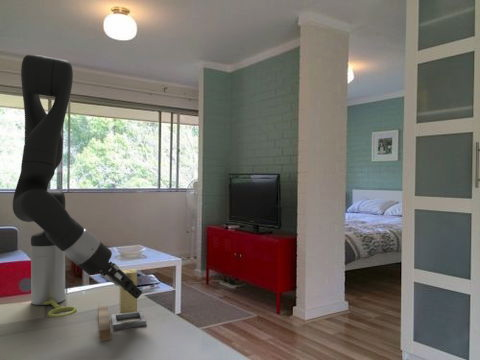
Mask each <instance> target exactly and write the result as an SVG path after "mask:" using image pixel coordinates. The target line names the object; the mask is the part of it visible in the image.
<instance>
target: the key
mask: <svg viewBox="0 0 480 360" xmlns="http://www.w3.org/2000/svg"><path fill="white" fill-rule="evenodd" d="M44 304H45V305H44V306H46V304H49V305H51V306H53V309H51V310H49V311H48V313H47V316H48V317H49V318H62V317H66V316H70V315H73V314H75V313H77V311H78V310H77V307H75V306H71V305H70V306H68V305H67V306H62V305H60V304H58V303H56V302H55V301H54V300H53V299H51V300H50V301H47V302H44ZM67 310H68V312H67ZM61 312H62V313H61ZM63 312H65V313H63ZM58 313H59V314H58Z"/></svg>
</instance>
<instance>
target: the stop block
mask: <svg viewBox="0 0 480 360" xmlns="http://www.w3.org/2000/svg"><path fill="white" fill-rule="evenodd" d="M120 270H121V271H123V272H124V273H125V274H126V275H127V277H128V278H129V279H130V280H131V281H133V282H134V285H135V286H136V287H137V288H138V271H137V269H136V268H131V269H120ZM127 282H128V281H126V282H125V283H124V286H125V285H126V283H127ZM119 311H120V313H121V314H123V313H131V312H137V311H138V298H137V299H136V298H134V297H133V296H132V295H131V294H130V293H129V292H127V291H125V290H124V289H123V288H122V287H121V286H119ZM120 313H119V314H120Z"/></svg>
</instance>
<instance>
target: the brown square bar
mask: <svg viewBox="0 0 480 360" xmlns="http://www.w3.org/2000/svg"><path fill="white" fill-rule="evenodd" d="M108 307H109V306H108V305H99V306H98V305H97V317H98V318H97V319H98V320H97V321H98V334H99V335H98V337H99V338H98V339H99V342H102V341H110V340H111V339H112V336H111V331H112V329H111V322H110V321H111V320H110V316H109V315H110V314H109V308H108Z"/></svg>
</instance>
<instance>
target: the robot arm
mask: <svg viewBox="0 0 480 360" xmlns="http://www.w3.org/2000/svg"><path fill="white" fill-rule="evenodd" d="M73 70H74V69H73V67H72V64H71V62H70V61H68V60H66V59H61V58H55V57H52V56H51V57H48V56H44V55H41V54H40V55H38V54H32V53H31V54H27V55H25V56H24V57H23V59H22V62H21V69H20V74H21V75H20V78H21V90H22V98H23V99H22V100H23V107H24V108H23V109H24V145H23V151H22V158H21V159H22V160H21V167H20V175H19V178H18V181H17V184H16V186H15V190H14V194H13V198H12V199H13V200H12V211H13V214H14V216H15V217H16V218H17V219H18V220H20V221H22V222H25V223H33V222H34V223H35V224H37V226H39V227H40V229H42V231H39V232H36V233H34V234H32V236H31V237H30V268H31V269H30V272H31V273H30V284H31V285H30V286H31V288H30V292H31V294H30V295H31V296H30V297H31V298H30V299H31V300H30V301H31V304H32V305H34V306H46V305H48V306H49V305H50V304H46V305H45V304H44V302H47V301H50V300H51V299H53V300H54V301H55V302H56V303H57V304H58V303H61V302H64V300H66V257H67V258H68V259H69V260H71V261H72V263H74V264H75V265H76V266H77V267H79V268H80V269H81V270H82V271H83V272H85V273H86V274H87V275H89V276H94V275H96V274H98V273H99V275H100V276H101V277H102V278H104V279H106V280H108V281H109V282H110V283H112V284H114V285H115V286H117V287H120V286H121V287H122V288H123V289H124V290H125V291H127V292H129V293H130V294H131V295H132V296H133V297H134V298H136V299H137V300H138V299H139V297H140V296H141V295H142V294H143V291H142V290H141V289H140V288H138V286H137V287H136V286H135V285H134V282H133V281H131V280H130V279H129V278H128V277H127V275H126V274H125V273H124V272H123V271H121V270H122V269H121V268H120V267H119V265H117V264H116V263H114V262H112V261H110V260H111V258H112V255H113V252H112V250H111V249H110V248H109V247H108V246H107V245H106V244H104V243H103V242H102V241H101V240H99V239H98V238H97V236H95V235H94V234H93V233H91V231H88V230H87V229H85V227H83V226H82V225H81V224H80V223H79V222H77V221H76V219H74V218H72V217H71V215H70V214H69V213H68V211H67V210H66V195H65V193H64V192H63V191H62V190H48V188H49V184H50V182H51V180H52V179H53V177H54V175H55V171H56V170H57V168H58V167H59V166H60V164H61V162H62V160H63V149H64V147H63V146H64V144H63V143H64V141H63V136H62V129H63V126H64V122H65V118H66V116H67V115H66V114H67V112H68V111H67V110H68V105H69V101H70V98H71V93H72V87H73V78H74V77H73V76H74V73H73V72H74V71H73ZM40 96H46V97H51V98H52V97H53V98H54V100H53V104H52V106H51V108H50V109H49V111H48V112H46V111H45V108H44V107H43V103H42V101H41V98H40ZM126 281H128V282H127V283H126V285H125V286H124V283H125V282H126Z"/></svg>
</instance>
